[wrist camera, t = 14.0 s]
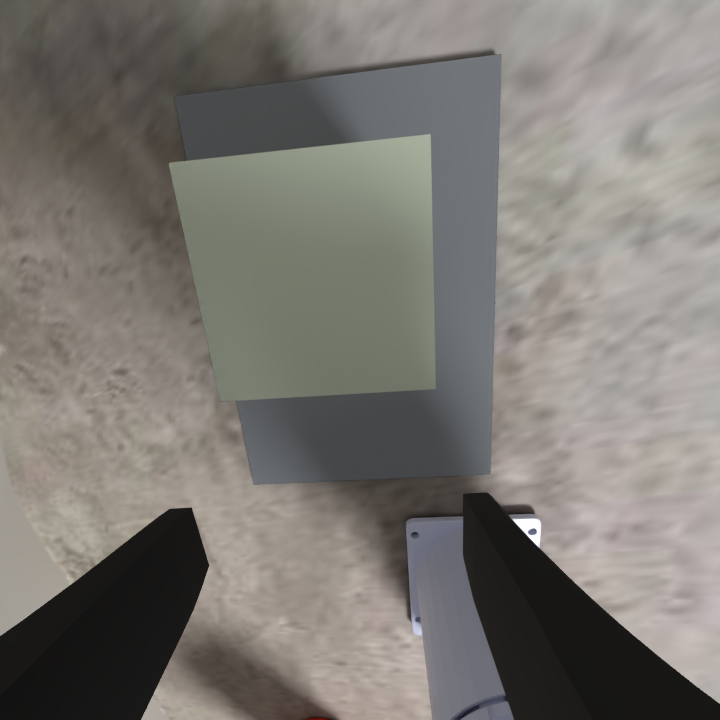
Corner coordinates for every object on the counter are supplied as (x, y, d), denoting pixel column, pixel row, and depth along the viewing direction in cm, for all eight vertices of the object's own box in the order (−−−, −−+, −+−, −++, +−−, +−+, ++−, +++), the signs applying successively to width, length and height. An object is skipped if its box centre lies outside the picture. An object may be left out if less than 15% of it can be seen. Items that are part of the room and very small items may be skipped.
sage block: (413, 337, 12) (435, 389, 8) (278, 346, 13) (220, 401, 8) (407, 185, 11) (430, 134, 6) (255, 201, 11) (168, 162, 7)
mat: (488, 470, 20) (490, 475, 20) (255, 480, 21) (253, 485, 21) (498, 59, 14) (502, 52, 14) (178, 100, 15) (172, 95, 15)
